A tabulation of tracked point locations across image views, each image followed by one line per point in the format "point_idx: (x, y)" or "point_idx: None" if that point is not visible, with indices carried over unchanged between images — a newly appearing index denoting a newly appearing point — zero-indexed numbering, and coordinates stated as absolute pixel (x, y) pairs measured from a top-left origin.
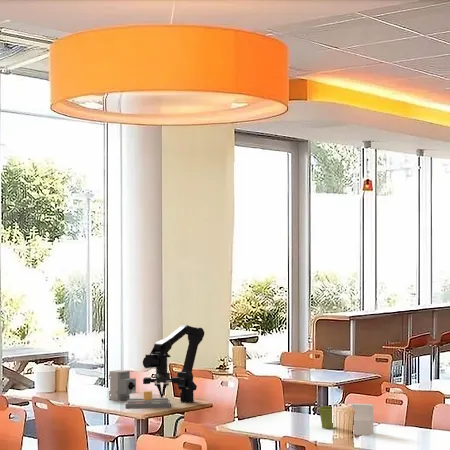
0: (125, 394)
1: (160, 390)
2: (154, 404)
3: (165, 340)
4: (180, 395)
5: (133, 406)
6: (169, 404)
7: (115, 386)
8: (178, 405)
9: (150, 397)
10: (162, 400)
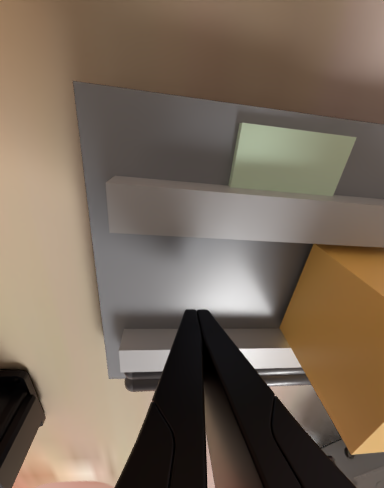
0: (356, 474)
1: (253, 421)
2: (310, 115)
3: None
4: (7, 448)
5: None
6: (81, 83)
7: None
8: (14, 247)
9: (373, 273)
10: (193, 191)
